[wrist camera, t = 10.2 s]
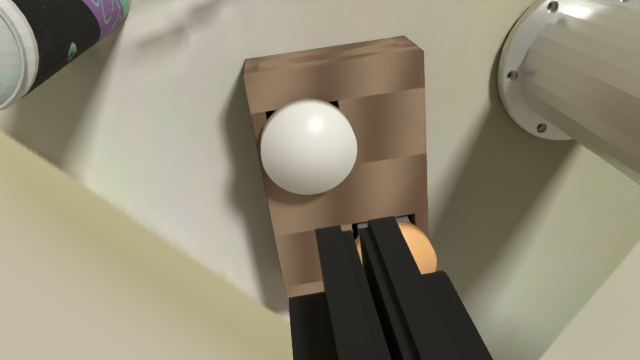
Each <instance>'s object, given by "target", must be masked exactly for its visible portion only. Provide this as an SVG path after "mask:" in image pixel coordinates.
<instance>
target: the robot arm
mask: <svg viewBox="0 0 640 360" xmlns="http://www.w3.org/2000/svg"><path fill="white" fill-rule="evenodd" d="M548 4H549V7H548V8H547V6H548ZM509 72H510V74H509V75H508V73H509ZM507 75H508V76H507ZM497 80H498V90H499V95H500V98H501V101H502V104H503V106H504V108H505V109H506V111H507V113H508V115H509V116H510V117H511V118H512V119H513V120H514V121H515V122H516V123H517V124H518V125H519V126H520V127H522V128H523V129H525V130H526V131H527V132H529V133H531V134H533V135H535V136H537V137H540V138H544V139H549V140H571V139H574V140H575V141H577V142H578V143H580V144H581V145H583V146H584V147H585V148H587V149H588V150H590V151H591V152H593V153H594V154H596V155H597V156H598V157H600V158H601V159H603V160H604V161H606V162H607V163H609V164H610V165H612V166H613V167H614V168H616V169H617V170H619V171H620V172H622V173H623V174H625V175H626V176H627V177H629V178H630V179H632V180H633V181H635V182H636V183H638V184H639V185H640V0H537V1H536V2H535V3H533V4H532V5H531V6H530V7H529V8H528V10H527V11H526V12H525V13H524V14H523V15H522V16H521V17H520V18H519V20H518V21H517V23H516V24H515V26H514V27H513V29H512V30H511V32H510V34H509V36H508V38H507V40H506V42H505V44H504V47H503V50H502V53H501V57H500V60H499V66H498V77H497ZM367 226H368V227H365V228H359V238H360V247H361V256H362V262H361V259H360V256H359V253H358V249H357V246H356V243H355V240H354V236H353V233H352V230H347V231H342V229H341V226H340V225H336V226H330V227H324V228H318V229H315V234H316V241H317V247H318V253H319V260H320V266H321V272H322V279H323V285H324V292H318V293H312V294H307V295H301V296H295V297H290V298H289V313H290V325H291V337H292V348H293V360H493V359H492V357H491V355H490V353H489V351H488V349H487V348H486V346H485V344H484V342H483V340H482V338H481V336H480V335H479V333H478V331H477V329H476V327H475V325H474V323H473V322H472V320H471V318H470V316H469V314H468V312H467V310H466V309H465V307H464V305H463V303H462V301H461V299H460V298H459V296H458V294H457V292H456V290H455V288H454V286H453V285H452V283H451V281H450V279H449V277H448V276H447V274H446V273H445V272H444V271H438V272H432V273H426V274H421V272H420V270H419V268H418V266H417V264H416V262H415V259H414V257H413V255H412V253H411V251H410V249H409V247H408V244H407V242H406V240H405V238H404V236H403V234H402V232H401V229H400V227H399V225H398V223H397V221H396V219H395V217H394V216H389V217H383V218H377V219H371V220H368V221H367ZM362 265H363V266H362Z"/></svg>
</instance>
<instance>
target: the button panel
mask: <svg viewBox="0 0 640 360" xmlns="http://www.w3.org/2000/svg"><path fill="white" fill-rule="evenodd" d="M243 78H244V83H245V88H246V93H247V99H248V104H249V109H250V114H251V119H252V124H253V129H254V134H255V139H256V144H257V149H258V155H259V160H260V165H261V170H262V175H263V180H264V185H265V190H266V195H267V200H268V205H269V211H270V216H271V221H272V226H273V231H274V236H275V241H276V246H277V251H278V256H279V261H280V267H281V272H282V277H283V282H284V287H285V292H286V297H287V302H288V307H289V298H290V297H295V296H301V295H307V294H312V293H318V292H324V285H323V279H322V272H321V266H320V260H319V253H318V247H317V241H316V234H315V229H318V228H324V227H330V226H336V225H340V226H341V229H342V231H347V230H352V224H354V223H360V222H366V221H368V220H371V219H377V218H383V217H389V216H394V217H397V216H403V215H407V217H408V219H409V221H410V223H411V224H414V225H415V226H417V227H419V228H420V229H421V230H422V231H423V232H424V233H425V235H426V236H427V238H428V199H427V159H426V119H425V79H424V51H423V50H422V49H421V48H419V47H418V46H417V45H416V44H414V43H413V42H412V41H411V40H409V39H408V38H407V37H405V36H399V37H393V38H386V39H379V40H372V41H366V42H359V43H352V44H345V45H339V46H332V47H325V48H318V49H312V50H305V51H298V52H291V53H285V54H278V55H271V56H264V57H258V58H251V59H245V67H244V77H243ZM304 98H314V99H320V100H323V101H326V102H332V101H336V105H337V108H338V109H339V110H340V111H341V112H342V113H343V114H344V115H345V116H346V118H347V119H348V121H349V123H350V125H351V127H352V130H353V132H354V134H355V137H356V142H357V156H356V160H355V163H354V166H353V168H352V170H351V172H350V173H349V174H348V176H347V177H346V178H345V179H344V180H343V181H342V182H341V183H340V184H338V185H337V186H335V187H334V188H332V189H330V190H328V191H325V192H322V193H319V194H312V195H302V194H296V193H292V192H289V191H287V190H285V189H283V188H281V187H280V186H278V185H277V184H276V183H275V182H273V181H272V180H271V178H270V177H269V176H268V174H267V173H266V171H265V169H264V166H263V163H262V159H261V135H262V131H263V128H264V126H265V124H266V122H267V120H268V119H269V112H268V111H273V110H277V109H278V108H280V107H281V106H283V105H284V104H286V103H288V102H291V101H294V100H298V99H304ZM352 233H353V231H352ZM428 240H429V239H428Z"/></svg>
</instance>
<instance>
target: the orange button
mask: <svg viewBox="0 0 640 360" xmlns="http://www.w3.org/2000/svg"><path fill="white" fill-rule="evenodd" d="M395 219H396V221H397V223H398V225H399V227H400V229H401V232H402V234H403V236H404V238H405V240H406V242H407V244H408V247H409V249H410V251H411V253H412V255H413V257H414V259H415V262H416V264H417V266H418V268H419V270H420V272H421V274H426V273H432V272H435V271H436V266H437V258H436V254H435V251H434V249H433V247H432V245H431V243H430V241H429V240H428V238H427V236H426V235H425V233H424V232H423V231H422V230H421V229H420V228H419V227H417V226H415V225H414V224H411V223H410V221H409V219H408V217H407V215H403V216H397V217H395ZM365 227H368V226H367V221H366V222H360V223H354V224H353V228H354V237H355V243H356V246H357V249H358V253H359V256H360V259H361V262H362V256H361V247H360V238H359V228H365ZM362 266H363V265H362Z"/></svg>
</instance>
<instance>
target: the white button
mask: <svg viewBox="0 0 640 360" xmlns="http://www.w3.org/2000/svg"><path fill="white" fill-rule="evenodd" d="M356 156H357V142H356V137H355V134H354V132H353V130H352V127H351V125H350V123H349V121H348V119H347V118H346V116H345V115H344V114H343V113H342V112H341V111H340V110H339V109H338V108H337V107H335V106H334V105H332V104H330V103H329V102H326V101H323V100H320V99H314V98H304V99H298V100H294V101H291V102H288V103H286V104H284V105H283V106H281V107H280V108H278V109H277V110H273V114H272V115H271V116H270V117H269V119H268V120H267V122H266V124H265V126H264V128H263V131H262V135H261V159H262V163H263V166H264V169H265V171H266V173H267V174H268V176H269V177H270V178H271V180H272V181H273V182H275V183H276V184H277V185H278V186H280V187H281V188H283V189H285V190H287V191H289V192H292V193H296V194H302V195H312V194H319V193H322V192H325V191H328V190H330V189H332V188H334V187H335V186H337V185H338V184H340V183H341V182H342V181H343V180H344V179H345V178H346V177H347V176H348V174H349V173H350V172H351V170H352V168H353V166H354V163H355V160H356Z"/></svg>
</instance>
